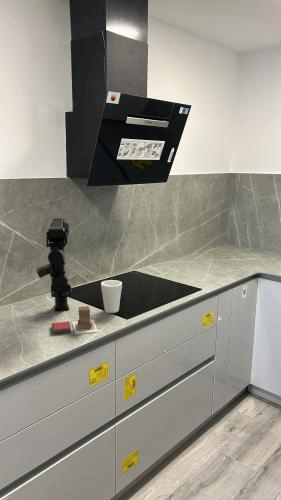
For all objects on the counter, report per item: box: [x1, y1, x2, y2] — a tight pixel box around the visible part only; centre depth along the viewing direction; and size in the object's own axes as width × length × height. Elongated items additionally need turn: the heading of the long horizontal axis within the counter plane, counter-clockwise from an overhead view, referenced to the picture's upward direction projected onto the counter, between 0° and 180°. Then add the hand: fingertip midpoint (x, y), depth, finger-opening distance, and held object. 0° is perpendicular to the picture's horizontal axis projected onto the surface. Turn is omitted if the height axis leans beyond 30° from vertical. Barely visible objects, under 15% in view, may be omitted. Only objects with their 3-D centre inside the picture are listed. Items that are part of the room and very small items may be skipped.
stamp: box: [77, 305, 92, 330], centre depth 160 cm, size 5×5×8 cm
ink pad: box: [51, 321, 72, 336], centre depth 159 cm, size 8×7×2 cm
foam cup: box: [100, 279, 123, 314], centre depth 178 cm, size 10×9×13 cm
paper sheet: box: [71, 319, 99, 336], centre depth 161 cm, size 12×9×1 cm
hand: (58, 294), depth 164 cm, fingers open, 9 cm apart
